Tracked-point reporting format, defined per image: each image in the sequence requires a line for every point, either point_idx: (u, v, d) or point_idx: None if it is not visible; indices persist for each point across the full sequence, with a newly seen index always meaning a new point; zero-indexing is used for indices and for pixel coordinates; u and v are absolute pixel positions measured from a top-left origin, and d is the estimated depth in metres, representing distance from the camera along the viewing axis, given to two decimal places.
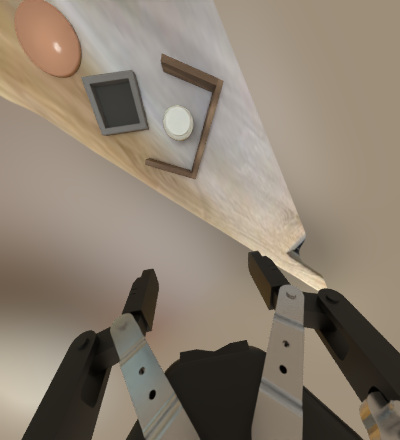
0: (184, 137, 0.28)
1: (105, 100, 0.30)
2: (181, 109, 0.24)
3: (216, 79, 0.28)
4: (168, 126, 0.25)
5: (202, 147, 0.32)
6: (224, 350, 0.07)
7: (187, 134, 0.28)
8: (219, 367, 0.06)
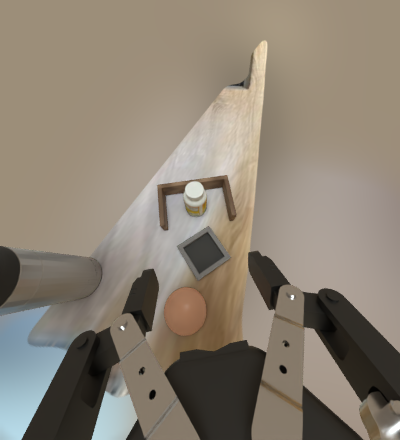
0: None
1: (204, 263, 0.37)
2: (186, 189, 0.33)
3: (158, 189, 0.39)
4: (200, 194, 0.32)
5: (201, 180, 0.40)
6: (224, 350, 0.07)
7: None
8: (219, 367, 0.06)
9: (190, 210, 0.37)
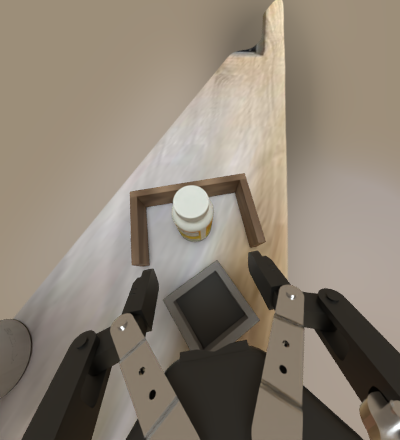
0: None
1: (211, 328, 0.21)
2: (174, 202, 0.17)
3: (131, 198, 0.23)
4: (203, 210, 0.17)
5: (203, 182, 0.24)
6: (224, 350, 0.07)
7: None
8: (219, 367, 0.06)
9: (185, 235, 0.22)
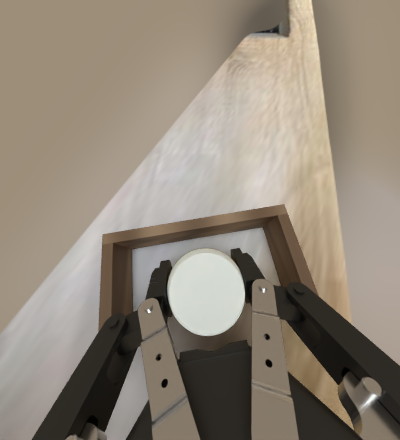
0: (227, 258, 0.11)
1: None
2: (172, 293, 0.08)
3: (104, 247, 0.15)
4: (233, 315, 0.08)
5: (219, 219, 0.15)
6: (224, 350, 0.07)
7: (217, 253, 0.11)
8: (219, 367, 0.06)
9: None
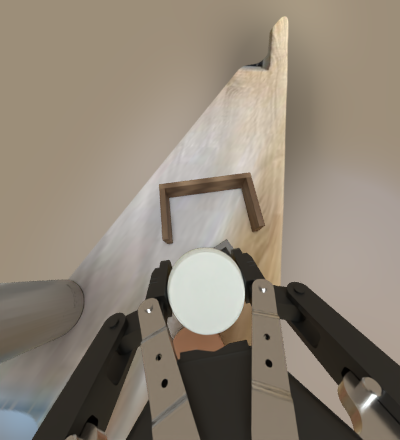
0: (227, 257, 0.11)
1: None
2: (172, 292, 0.08)
3: (160, 190, 0.30)
4: (233, 314, 0.08)
5: (217, 178, 0.30)
6: (224, 350, 0.07)
7: (218, 253, 0.11)
8: (219, 367, 0.06)
9: None
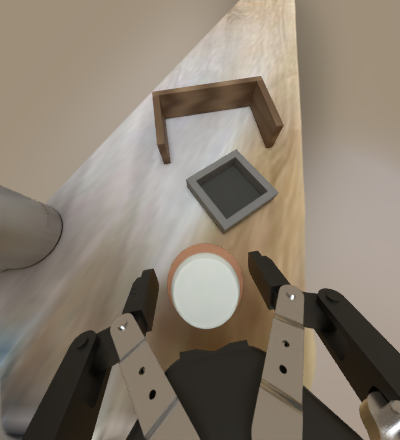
0: (224, 261, 0.12)
1: (232, 208, 0.22)
2: (176, 292, 0.09)
3: (154, 97, 0.25)
4: (228, 311, 0.09)
5: (222, 83, 0.25)
6: (224, 350, 0.07)
7: (216, 257, 0.12)
8: (219, 367, 0.06)
9: None
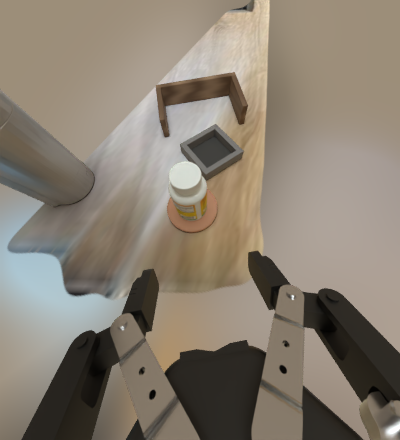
0: None
1: (212, 164, 0.31)
2: (170, 175, 0.19)
3: (157, 88, 0.34)
4: (195, 182, 0.18)
5: (206, 78, 0.35)
6: (224, 350, 0.07)
7: None
8: (219, 367, 0.06)
9: (181, 211, 0.23)
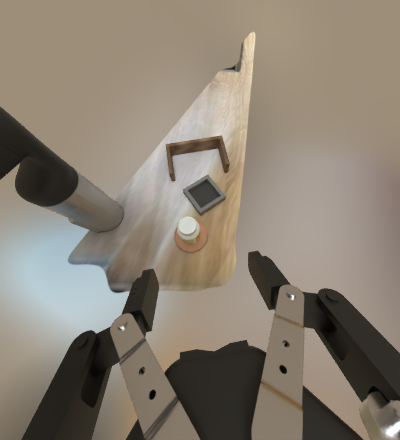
0: (195, 220, 0.36)
1: (205, 203, 0.46)
2: (179, 225, 0.33)
3: (166, 147, 0.49)
4: (193, 230, 0.33)
5: (201, 139, 0.49)
6: (224, 350, 0.07)
7: None
8: (219, 367, 0.06)
9: (184, 241, 0.38)
